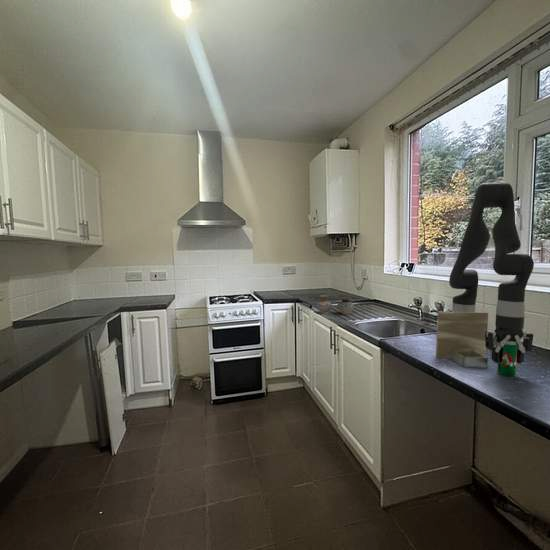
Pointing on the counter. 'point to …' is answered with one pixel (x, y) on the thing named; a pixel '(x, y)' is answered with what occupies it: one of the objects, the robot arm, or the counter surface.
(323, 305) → the pottery
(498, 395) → the counter surface
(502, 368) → the soda can
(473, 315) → the wall board
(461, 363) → the can holder
